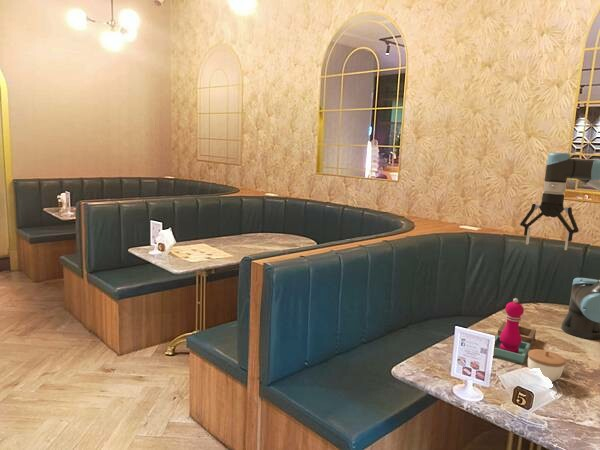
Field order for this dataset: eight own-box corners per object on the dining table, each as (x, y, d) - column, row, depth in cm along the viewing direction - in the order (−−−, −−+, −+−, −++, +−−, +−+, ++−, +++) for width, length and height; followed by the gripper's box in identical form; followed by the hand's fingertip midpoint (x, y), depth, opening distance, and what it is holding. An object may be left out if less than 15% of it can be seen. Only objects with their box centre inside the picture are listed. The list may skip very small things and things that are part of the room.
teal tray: (529, 351, 174) (530, 343, 174) (523, 364, 163) (524, 356, 162) (495, 342, 181) (496, 335, 180) (487, 354, 169) (488, 346, 169)
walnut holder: (534, 338, 187) (536, 329, 186) (530, 348, 177) (531, 338, 176) (502, 331, 193) (504, 321, 192) (496, 340, 183) (498, 330, 182)
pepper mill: (521, 356, 167) (529, 302, 164) (500, 353, 169) (507, 300, 165) (517, 348, 174) (524, 296, 171) (496, 345, 176) (503, 294, 172)
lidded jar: (519, 376, 154) (523, 349, 152) (533, 367, 160) (537, 342, 159) (553, 390, 146) (557, 361, 144) (567, 380, 152) (571, 353, 151)
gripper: (517, 190, 185) (510, 243, 188) (590, 196, 171) (582, 253, 175) (520, 189, 191) (513, 240, 194) (591, 195, 177) (583, 250, 181)
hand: (546, 246), depth 184 cm, fingers open, 13 cm apart
